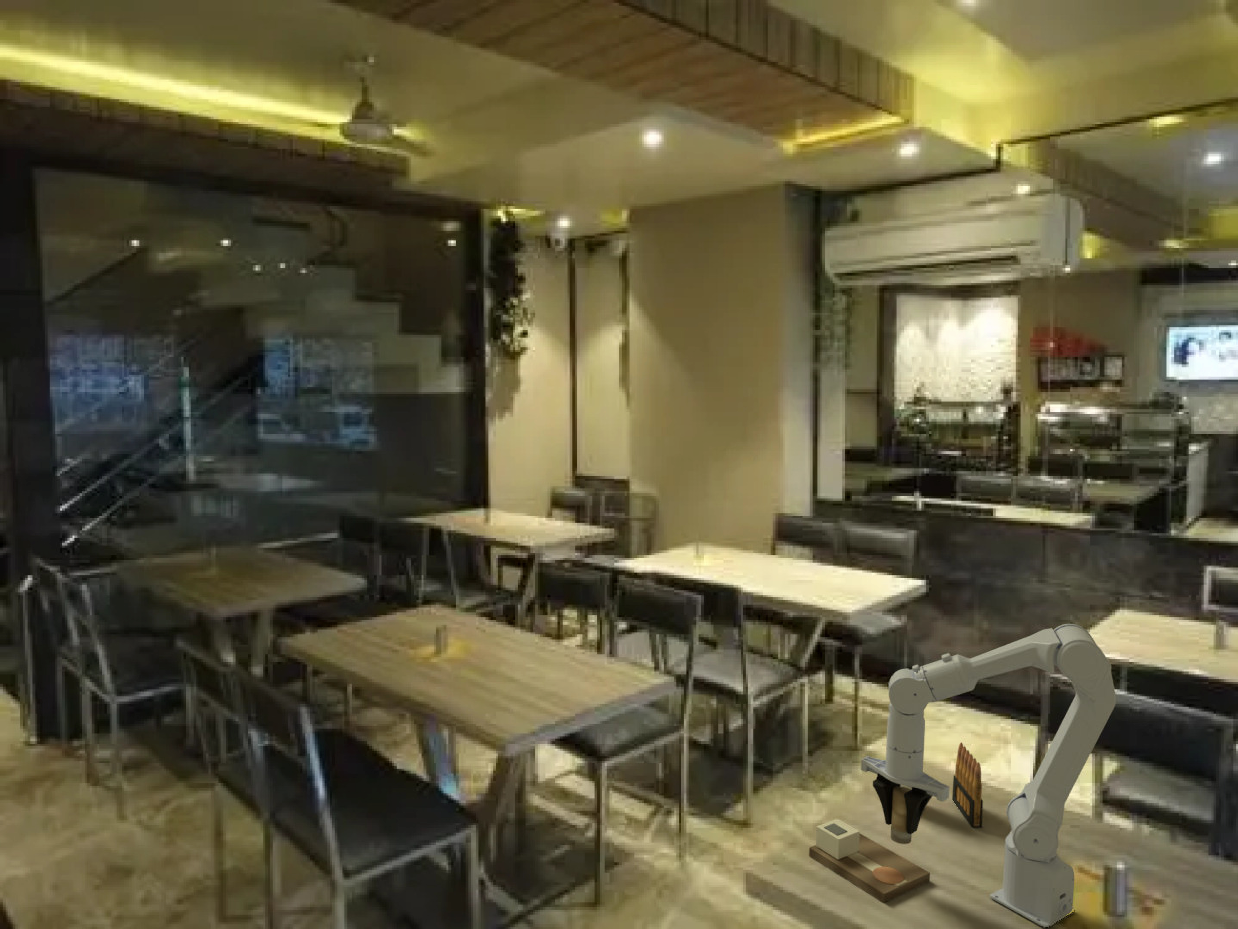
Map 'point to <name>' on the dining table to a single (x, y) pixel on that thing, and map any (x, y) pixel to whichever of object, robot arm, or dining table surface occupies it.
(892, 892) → the board
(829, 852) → the block
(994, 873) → the dining table surface
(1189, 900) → the dining table surface
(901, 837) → the brown upright cylinder
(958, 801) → the ammunition clip
